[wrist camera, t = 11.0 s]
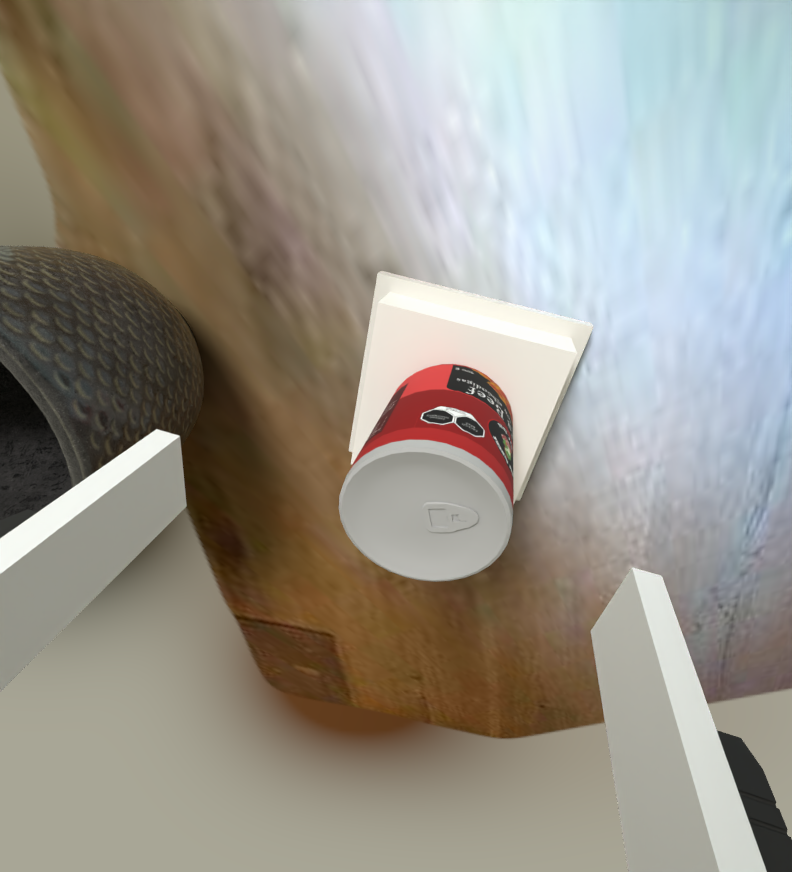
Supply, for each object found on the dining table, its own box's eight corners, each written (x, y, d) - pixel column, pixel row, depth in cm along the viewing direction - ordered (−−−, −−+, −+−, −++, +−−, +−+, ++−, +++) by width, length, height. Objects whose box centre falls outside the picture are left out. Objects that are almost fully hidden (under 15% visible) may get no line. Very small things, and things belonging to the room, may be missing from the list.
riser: (381, 270, 30) (364, 281, 27) (591, 322, 29) (601, 341, 26) (352, 444, 37) (336, 471, 34) (519, 493, 36) (520, 525, 33)
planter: (269, 290, 33) (94, 364, 19) (227, 466, 42) (87, 603, 28) (52, 187, 33) (-279, 188, 19) (57, 385, 42) (-166, 483, 28)
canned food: (530, 445, 30) (538, 566, 20) (420, 478, 33) (383, 596, 23) (486, 339, 27) (472, 421, 18) (371, 385, 30) (307, 476, 21)
